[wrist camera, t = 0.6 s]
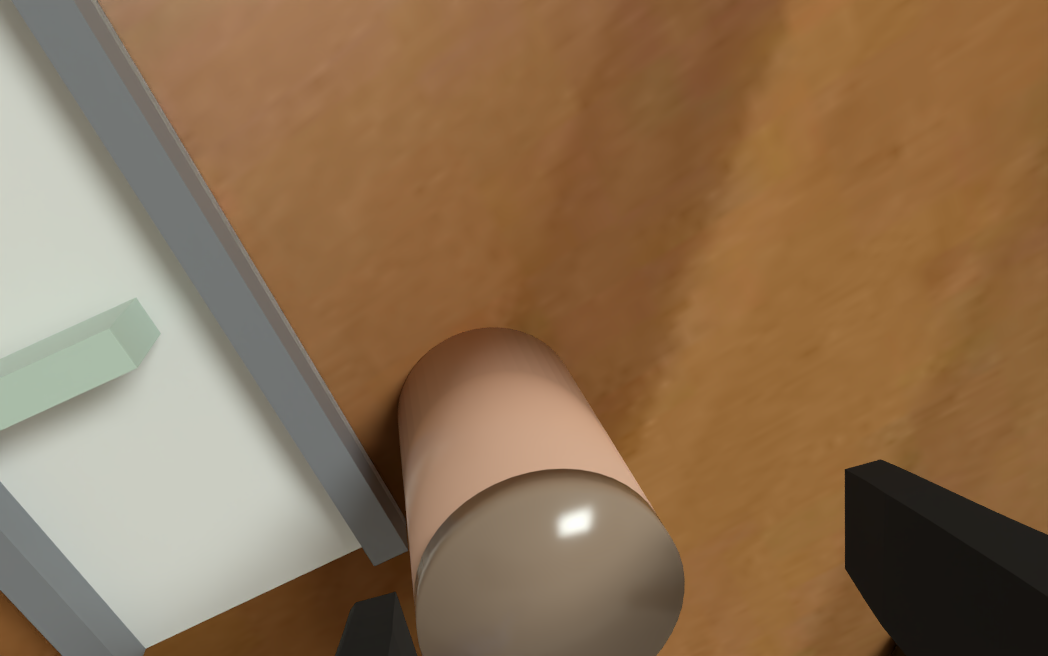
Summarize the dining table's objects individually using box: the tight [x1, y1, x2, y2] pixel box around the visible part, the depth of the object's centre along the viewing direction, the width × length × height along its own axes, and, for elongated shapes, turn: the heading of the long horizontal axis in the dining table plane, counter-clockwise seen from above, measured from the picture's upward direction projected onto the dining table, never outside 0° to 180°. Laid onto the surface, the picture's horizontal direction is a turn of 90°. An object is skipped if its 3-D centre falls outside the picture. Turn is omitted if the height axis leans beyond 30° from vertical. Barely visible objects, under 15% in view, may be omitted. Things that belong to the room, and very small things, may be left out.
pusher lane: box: [0, 0, 408, 656], centre depth 16 cm, size 9×20×4 cm, turn 22°
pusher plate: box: [0, 298, 161, 431], centre depth 16 cm, size 4×1×2 cm, turn 112°
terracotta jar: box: [398, 328, 684, 656], centre depth 17 cm, size 5×5×8 cm
